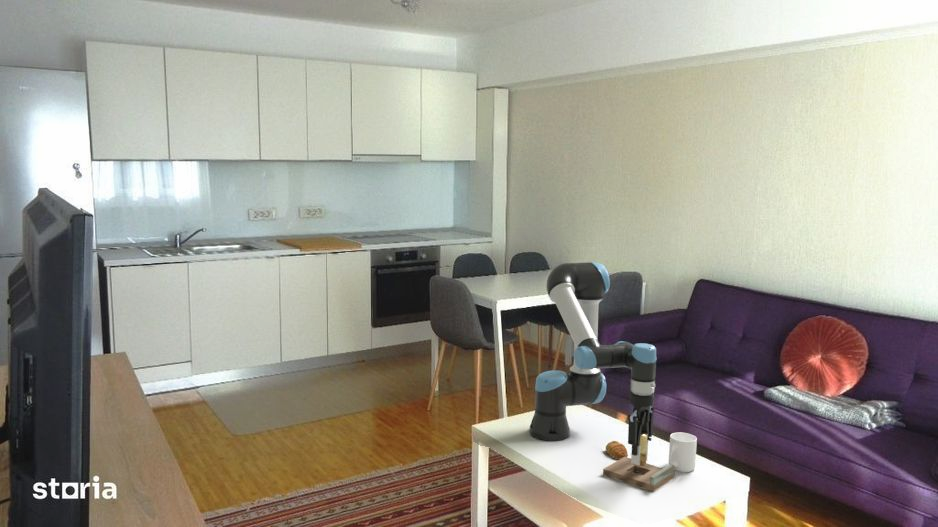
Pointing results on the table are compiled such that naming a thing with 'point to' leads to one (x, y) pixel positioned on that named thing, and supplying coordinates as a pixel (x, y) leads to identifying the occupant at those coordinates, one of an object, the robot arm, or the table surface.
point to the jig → (649, 480)
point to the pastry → (616, 450)
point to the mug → (682, 451)
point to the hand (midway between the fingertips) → (639, 461)
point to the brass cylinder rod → (643, 449)
